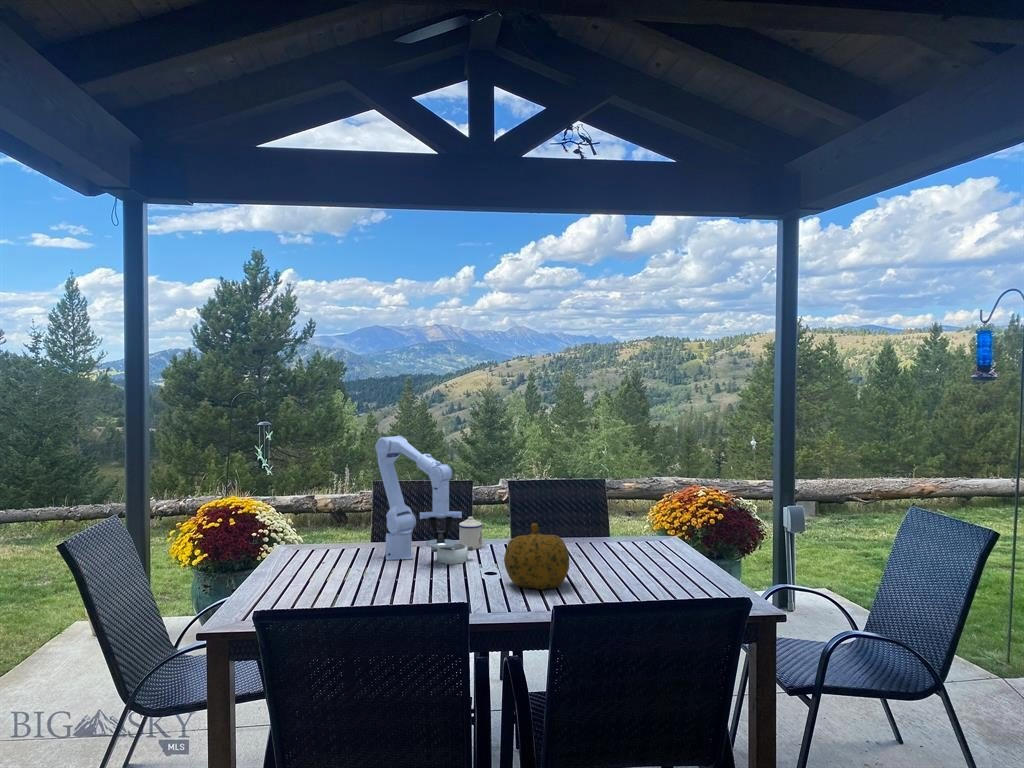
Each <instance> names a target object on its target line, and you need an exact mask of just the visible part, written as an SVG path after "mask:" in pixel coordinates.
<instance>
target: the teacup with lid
mask: <svg viewBox="0 0 1024 768" xmlns="http://www.w3.org/2000/svg"><path fill="white" fill-rule="evenodd" d="M458 529H459V531H458V532H459V534H458V535H459V536H458V537H459V539H458V540H459V543H458V544H464V545H467V546H468V547H471V546H472V547H473V550H478V548H479V549H480V548H482V546H483V542H482V541H483V540H482V539H483V531H482V529H483V523H482V522H481V521H478V520H476V519H474V516H468V517H467V519H464V521H461V522H460V523H459V524H458Z"/></svg>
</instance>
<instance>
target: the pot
mask: <svg viewBox="0 0 1024 768" xmlns="http://www.w3.org/2000/svg"><path fill="white" fill-rule="evenodd" d="M473 551H474V549H473V547H472V546H471V547H468V546H467V545H464V544H459V543H455V545H454V546H451V547H444V548H435V547H431V553H436V562H437V563H438V562H439V563H438V564H441V563H445V564H444V565H459V564H458V563H461V564H464V562H465V563H467V562H468V559H469V555H468V554H469V553H468V552H473ZM466 561H467V562H466Z"/></svg>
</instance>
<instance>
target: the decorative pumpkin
mask: <svg viewBox="0 0 1024 768" xmlns="http://www.w3.org/2000/svg"><path fill="white" fill-rule="evenodd" d="M530 529H531V533H529V534H528V535H527V534H526V535H525V534H524V535H517V536H515V537H513V538H511V539H510V540H509V541H508V543H507V546H506V549H505V553H504V557H503V562H504V567H505V570H506V573H507V575H508V578H509V579H510V580H511V581H512V583H513V584H515V585H516V586H518V587H519V588H522V587H523V588H522V589H536V590H541V591H542V590H545V589H551V590H552V589H557V588H558V587H560V586H561V585H562V583H564V581H565V579H566V577H567V575H568V573H569V569H570V553H569V550H568V548H567V545H566V543H565V541H564V539H562V538H561V537H560V536H558V535H555V534H542V533H540V531H539V530H540V529H539V524H538V523H537V522H534V523H531V525H530Z"/></svg>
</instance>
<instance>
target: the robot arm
mask: <svg viewBox="0 0 1024 768" xmlns="http://www.w3.org/2000/svg"><path fill="white" fill-rule="evenodd" d="M374 447H375V452H376V455H377V463H378V464H377V465H378V468H379V471H380V475H381V479H382V483H383V487H384V490H385V494H386V497H387V501H388V505H389V506H388V507H389V510H388V511H387V513H386V515H385V516H386V529H387V530H388V531H389V533H388V532H387V533H385V549H384V553H385V560H386V561H392V560H393V561H394V560H395V561H396V560H398V561H400V559H401V560H413V559H414V558H413V556H414V555H413V554H414V553H413V552H412V533H413V530H414V528H415V527H416V525H417V518H416V516H415V514H414V513H413V512H412V508H411V507H409V506H408V505H406V504H405V499H404V495H403V493H402V488H401V485H400V482H399V477H398V473H397V471H396V470H397V469H396V466H395V462H396V460H397V459H398V458H399V456H401V455H404V456H406V457H407V458H409V459H410V460H412V461H413V462H415V463H416V467H417V468H418V469H419V470H421V471H422V472H423V473H425V474H426V475H428V478H429V480H430V482H431V485H430V486H431V487H432V511H425V512H424V511H423V512H422V511H421V512H420V511H419V520H423V519H428V521H429V524H430V526H431V528H432V532H433V535H434V540H437V519H444V524H445V525H444V531H445V539H448V533H449V531H450V527H451V525H452V524H453V521H454V520H453V519H455V518H456V519H458V518H459V519H462V518H463V516H462V515H463V513H462V511H456V510H455V511H452V510H451V511H450V480H451V479H452V478H453V469H452V468H451V466H450V465H449V464H447V463H443V464H442V463H441V461H439V460H436V459H435V458H434V457H432V454H430V453H423V454H422V453H421V452H420V451H419V450H418V449H416V447H414V446H413V445H412V444H410V443H409V442H408V440H407V438H404V437H403V436H402V435H395V436H387V437H386V436H380V437H379V438H378V439H377V441H376V443H375V446H374Z"/></svg>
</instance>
